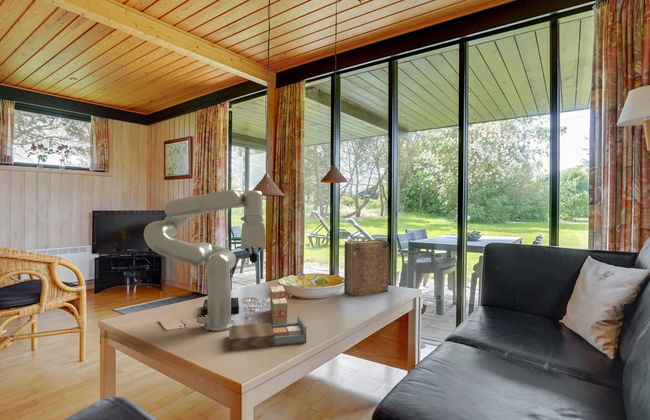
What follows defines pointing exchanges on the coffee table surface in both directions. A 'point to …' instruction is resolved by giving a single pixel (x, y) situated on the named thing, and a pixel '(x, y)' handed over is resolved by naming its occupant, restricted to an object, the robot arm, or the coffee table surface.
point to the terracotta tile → (279, 332)
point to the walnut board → (250, 336)
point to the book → (366, 267)
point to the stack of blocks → (278, 305)
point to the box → (291, 338)
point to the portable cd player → (233, 307)
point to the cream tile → (293, 330)
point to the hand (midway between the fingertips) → (253, 262)
